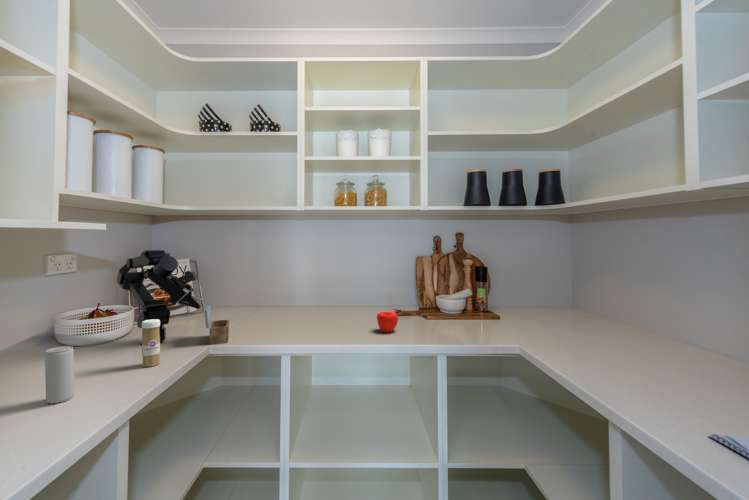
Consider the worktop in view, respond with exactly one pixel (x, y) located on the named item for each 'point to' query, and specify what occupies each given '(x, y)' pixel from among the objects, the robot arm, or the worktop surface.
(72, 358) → the beverage can
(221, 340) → the walnut box
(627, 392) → the worktop surface
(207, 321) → the box lid
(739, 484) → the worktop surface
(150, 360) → the sprinkles bottle
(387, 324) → the apple
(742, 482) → the worktop surface
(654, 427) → the worktop surface
